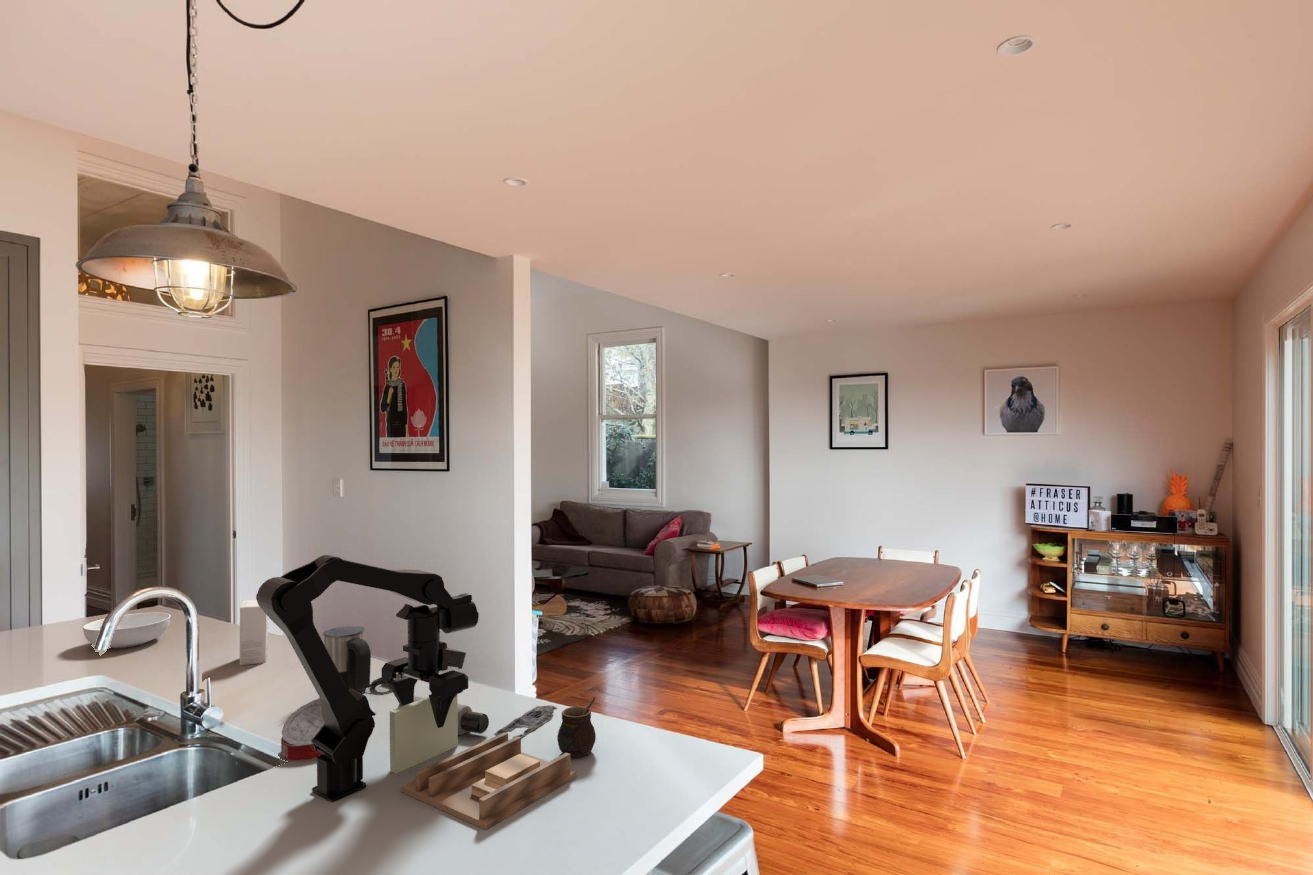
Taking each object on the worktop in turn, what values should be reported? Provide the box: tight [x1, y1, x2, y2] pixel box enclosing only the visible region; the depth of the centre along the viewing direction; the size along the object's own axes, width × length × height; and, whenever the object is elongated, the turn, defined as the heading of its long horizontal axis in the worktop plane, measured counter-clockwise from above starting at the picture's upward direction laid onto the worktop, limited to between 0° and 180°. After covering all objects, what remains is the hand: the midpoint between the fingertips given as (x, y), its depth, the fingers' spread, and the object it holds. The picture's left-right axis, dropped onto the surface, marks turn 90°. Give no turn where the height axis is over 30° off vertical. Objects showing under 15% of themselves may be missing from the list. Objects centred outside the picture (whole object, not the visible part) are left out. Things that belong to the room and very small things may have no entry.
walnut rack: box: [400, 732, 577, 831], centre depth 127 cm, size 21×21×4 cm
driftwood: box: [493, 705, 558, 739], centre depth 153 cm, size 21×7×2 cm, turn 155°
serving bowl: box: [82, 611, 172, 649], centre depth 215 cm, size 21×21×7 cm
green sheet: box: [389, 694, 459, 775], centre depth 138 cm, size 14×2×11 cm, turn 145°
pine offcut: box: [472, 778, 502, 798], centre depth 125 cm, size 11×6×2 cm, turn 145°
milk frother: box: [322, 625, 386, 694], centre depth 175 cm, size 14×16×15 cm
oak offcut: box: [485, 754, 540, 786], centre depth 126 cm, size 8×5×2 cm, turn 145°
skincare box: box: [239, 599, 269, 667], centre depth 198 cm, size 8×7×16 cm
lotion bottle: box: [397, 695, 490, 736], centre depth 151 cm, size 6×6×20 cm
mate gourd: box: [556, 696, 597, 759], centre depth 140 cm, size 7×8×10 cm
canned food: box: [280, 698, 325, 762], centre depth 142 cm, size 11×10×10 cm
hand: (424, 721), depth 138 cm, fingers open, 9 cm apart
